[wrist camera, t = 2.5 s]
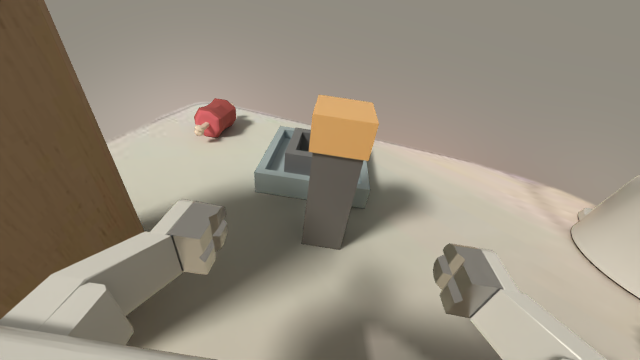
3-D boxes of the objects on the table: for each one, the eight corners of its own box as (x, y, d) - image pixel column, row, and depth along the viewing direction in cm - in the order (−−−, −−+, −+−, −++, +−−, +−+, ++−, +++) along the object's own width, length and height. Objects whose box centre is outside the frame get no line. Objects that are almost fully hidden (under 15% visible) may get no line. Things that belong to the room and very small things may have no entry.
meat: (217, 112, 48) (221, 88, 45) (241, 122, 48) (246, 100, 46) (180, 137, 38) (182, 110, 35) (210, 151, 39) (215, 124, 36)
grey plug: (343, 220, 29) (372, 102, 20) (342, 252, 25) (378, 123, 17) (304, 214, 29) (318, 94, 20) (298, 245, 25) (312, 113, 17)
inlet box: (359, 154, 42) (365, 130, 40) (364, 208, 31) (373, 179, 28) (279, 142, 42) (280, 117, 40) (255, 191, 31) (253, 161, 28)
